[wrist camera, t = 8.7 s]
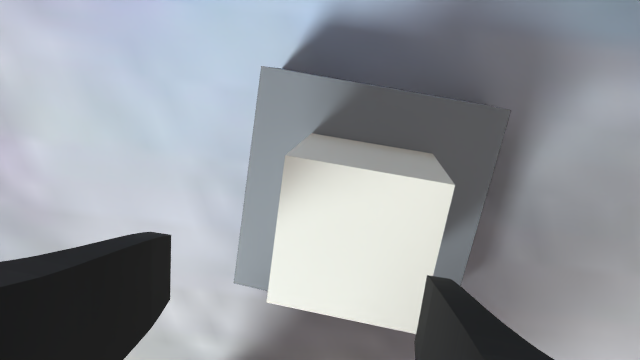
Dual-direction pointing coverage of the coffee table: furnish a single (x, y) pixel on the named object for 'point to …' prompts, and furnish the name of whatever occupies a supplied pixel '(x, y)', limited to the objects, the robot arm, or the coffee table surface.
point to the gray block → (371, 127)
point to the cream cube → (358, 230)
